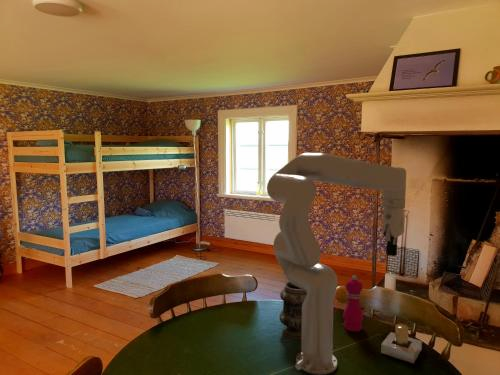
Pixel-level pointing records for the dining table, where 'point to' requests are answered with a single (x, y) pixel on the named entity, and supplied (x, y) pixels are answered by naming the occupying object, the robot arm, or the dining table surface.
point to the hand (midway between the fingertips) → (391, 254)
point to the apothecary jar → (292, 310)
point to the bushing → (401, 335)
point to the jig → (401, 348)
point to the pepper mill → (353, 305)
